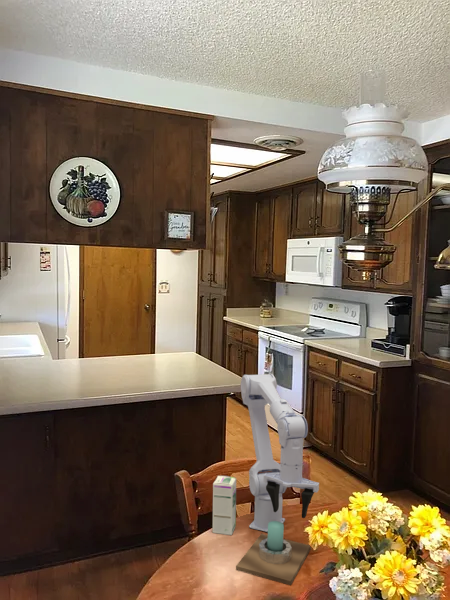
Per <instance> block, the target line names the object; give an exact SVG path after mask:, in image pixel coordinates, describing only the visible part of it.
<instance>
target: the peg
mask: <svg viewBox="0 0 450 600" xmlns="http://www.w3.org/2000/svg"><path fill="white" fill-rule="evenodd" d="M284 526H285V525H284V522H283V523H281V522H278V521H271V522H269V523H268V532H267V535H268V540H267V549H268V550H270V551H274V552H281V551H283V539H284V533H285V532H284V530H285V529H284Z"/></svg>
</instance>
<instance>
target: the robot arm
mask: <svg viewBox="0 0 450 600" xmlns="http://www.w3.org/2000/svg"><path fill="white" fill-rule="evenodd" d="M277 385H278V383H277V379H276V377H275V376H274V374H273V373H268V374H243V375H242V377H241V380H240V394H241V398H242V404H243V405H246V407H247V408H248V413H249V419H250V425H251V431H252V432H251V433H252V439H253V445H254V446H253V447H254V452H255V459H256V462H255V463H254V464H253V465H252V466H251V467H250V469H249V471H248V476H249V477H248V478H249V479H248V481H249V482H248V484H249V490H250V493H251V494H252V495H253V496H254V517H253V519H254V520H253V521H252V522H251V523H250V524H249V526H248V527H249V528H250V529H253V530H257V531H261V532H262V531H263V532H266V533H268V523H269V522H271V521H278V522H281V523H283V524H284V522H285V521H286V518H285V517H283V501H284V499H283V494H284V493H285V492H286V490H287V488H297V489H301V490H303V491H302V492H301V501H302V502H301V503H302V504H301V505H302V506H301V518H302V519H306V517H307V514H308V509H309V505H310V502H311V500H312V497H313V496H314V494H315V493H318V492H319V490H320V482H317V481H314V480H311V479H308V478H305V477H303V462H304V461H303V457H304V456H303V455H304V454H303V453H304V452H303V451H304V450H303V449H304V439H305V438H306V437H307V436H308V433H309V432H308V431H309V430H308V421H307V419H306V418H305V416H304V415H302V414H301V415H300V414H298V413H296V412H295V410H294V409H293V408H292V406H291V405H290V403H289V401H288V400H286V399H284V398H281V395H280V394H279V392H278V390H277ZM266 405H269V412H270V413H269V414H270V415H271V417H272V419H274V420H273V421H275V423H276V424H277V427H276V429H277V433H278V442H279V445H280V462H277V461H276V460H275V459H274V456H273V450H272V443H271V438H270V433H269V427H268V420H267V414H266V409H265V407H266Z"/></svg>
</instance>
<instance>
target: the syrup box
mask: <svg viewBox="0 0 450 600" xmlns="http://www.w3.org/2000/svg"><path fill="white" fill-rule="evenodd" d="M236 517H237V477H235V476H228V475H217V477H216V478H215V480H214V481H213V483H212V534H217V535H226V536H232V535H233V533H234V531H235V528H236V526H237V523H236V521H237V518H236Z"/></svg>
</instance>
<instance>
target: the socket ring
mask: <svg viewBox="0 0 450 600" xmlns="http://www.w3.org/2000/svg"><path fill="white" fill-rule="evenodd" d="M267 540H268V538H267V539H264V540H262V541H261V542H260V544H259V556H260V558H261V559H262V560H264V561H265V562H268V563H271V564H283V563H286V562H288V561H289V560H290V558H291V550H292V547H291V545H290V543H289V542H287V541H285V540H283V551H281V552H274V551H270V550H268V549H267Z"/></svg>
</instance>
